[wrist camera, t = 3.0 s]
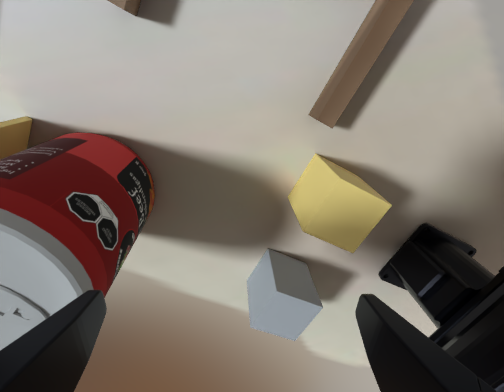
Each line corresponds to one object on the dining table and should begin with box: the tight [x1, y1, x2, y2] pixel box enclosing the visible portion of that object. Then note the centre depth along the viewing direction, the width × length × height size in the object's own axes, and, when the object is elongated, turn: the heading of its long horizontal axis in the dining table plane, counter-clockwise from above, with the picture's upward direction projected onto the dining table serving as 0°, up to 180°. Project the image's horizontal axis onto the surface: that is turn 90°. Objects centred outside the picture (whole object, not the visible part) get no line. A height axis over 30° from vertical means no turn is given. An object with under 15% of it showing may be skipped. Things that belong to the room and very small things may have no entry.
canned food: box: [0, 132, 155, 350], centre depth 15 cm, size 8×8×11 cm
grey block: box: [247, 248, 323, 341], centre depth 22 cm, size 4×4×5 cm
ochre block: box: [288, 153, 392, 253], centre depth 19 cm, size 4×4×5 cm
